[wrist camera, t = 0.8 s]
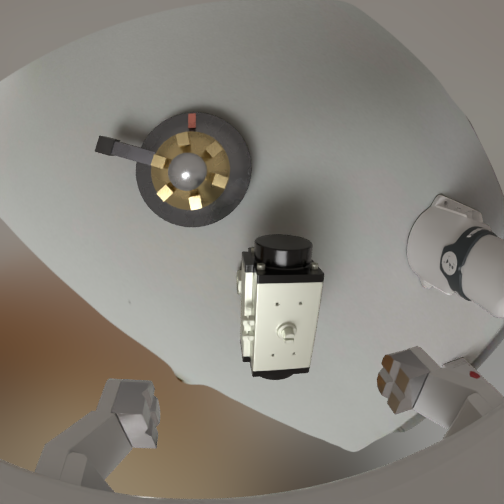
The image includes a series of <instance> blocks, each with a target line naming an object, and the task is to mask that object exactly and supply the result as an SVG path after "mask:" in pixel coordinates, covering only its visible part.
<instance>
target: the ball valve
mask: <svg viewBox="0 0 504 504" xmlns="http://www.w3.org/2000/svg"><path fill="white" fill-rule="evenodd" d="M312 246H313V245H312V243H311V242H310V241H309V240H307V239H305V238H302V237H298V236H293V235H282V234H273V235H264V236H261V237H258V238H256V240H255V247H252V248H248V252H242V270H238V271H237V293H238V294H241V327H240V344H241V352H242V359H243V362H250V367H251V371H252V376H253V377H257V376H260V377H262V378H265V379H270V380H280V379H285V378H287V377H290V376H291V375H293V374H299V373H308V372H309V368H310V363H311V357H312V352H313V346H314V340H315V334H316V328H317V322H318V315H319V309H320V302H321V295H322V288H323V280H324V273H323V272H322V271H321V269H320V268H319V267H318V264H317V263H314V261H313V260H312V259H311V257H312Z"/></svg>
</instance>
